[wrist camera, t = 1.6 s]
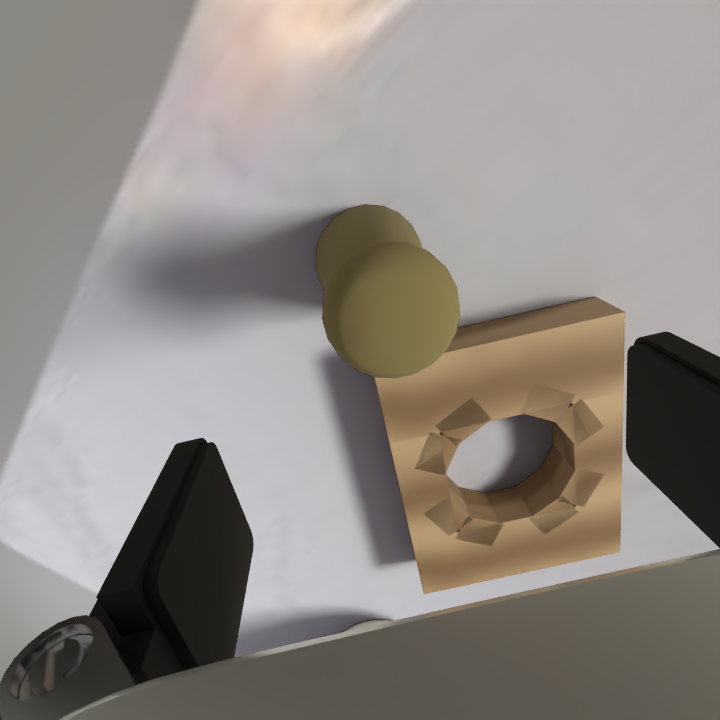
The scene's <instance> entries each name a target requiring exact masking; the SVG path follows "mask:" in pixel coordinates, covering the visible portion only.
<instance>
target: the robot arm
mask: <svg viewBox="0 0 720 720" xmlns="http://www.w3.org/2000/svg"><path fill="white" fill-rule="evenodd" d="M626 450H627V454H628V456H629V458H630V460H631V462H632V463H633V464H634V465H635V466H636V467H637V468H638V469H639V470H640V471H641V472H642V473H643V474H644V475H645V476H646V477H647V478H648V479H649V480H650V481H651V482H652V483H653V484H654V485H655V486H657V487H658V488H659V489H660V490H661V491H662V492H663V493H664V494H665V495H666V496H667V497H668V498H669V499H670V500H671V501H672V502H673V503H674V504H675V505H676V506H677V507H678V508H679V509H680V510H681V511H682V512H683V513H684V514H685V515H686V516H687V517H688V518H689V519H690V520H691V521H692V522H693V523H695V524H696V525H697V526H698V527H699V528H700V529H701V530H702V531H703V532H704V533H705V534H706V535H707V536H708V537H709V538H710V539H711V540H712V541H713V542H714V543H715V544H716V545H717V546H718V547H719V548H720V357H718V356H716V355H714V354H712V353H710V352H708V351H706V350H704V349H702V348H700V347H698V346H696V345H694V344H692V343H690V342H688V341H686V340H684V339H682V338H680V337H678V336H676V335H674V334H672V333H669V332H661V333H657V334H653V335H648V336H644V337H640V338H638V339H636V341H635V343H634V346H631V347H630V348H629V350H628V356H627V417H626ZM252 553H253V536H252V532H251V530H250V527H249V525H248V522H247V520H246V517H245V515H244V513H243V510H242V508H241V505H240V503H239V500H238V498H237V495H236V493H235V491H234V488H233V486H232V483H231V481H230V478H229V476H228V473H227V471H226V469H225V466H224V464H223V461H222V459H221V456H220V454H219V451H218V449H217V447H216V445H215V444H214V443H213V442H210V443H207V441H206V440H205V439H203V438H199V439H195V440H190V441H186V442H182V443H178V444H176V445H175V446H174V448H173V450H172V452H171V454H170V456H169V458H168V460H167V462H166V463H165V465H164V467H163V469H162V471H161V473H160V475H159V477H158V479H157V481H156V483H155V485H154V487H153V489H152V491H151V492H150V494H149V496H148V498H147V500H146V502H145V504H144V506H143V508H142V510H141V512H140V514H139V516H138V518H137V520H136V521H135V523H134V525H133V527H132V529H131V531H130V533H129V535H128V537H127V539H126V541H125V543H124V545H123V547H122V549H121V550H120V552H119V554H118V556H117V558H116V560H115V562H114V564H113V566H112V568H111V570H110V572H109V574H108V576H107V578H106V579H105V581H104V583H103V585H102V587H101V589H100V591H99V593H98V595H97V599H98V600H97V602H96V604H95V606H94V608H93V610H92V612H91V613H90V615H89V616H87V615H83V616H76V617H72V618H69V619H67V620H64V621H62V622H59V623H57V624H55V625H54V626H52V627H50V628H49V629H47V630H45V631H44V632H42V633H41V634H40V635H39V636H37V637H36V638H35V639H34V640H32V641H31V642H30V643H29V644H27V646H26V647H25V648H24V649H23V650H22V651H21V652H20V653H19V654H18V655H17V656H16V657H15V658H14V660H13V661H12V663H11V664H10V665H9V667H8V668H7V670H6V671H5V673H4V675H3V678H2V680H1V682H0V720H720V549H718V550H713V551H709V552H704V553H699V554H695V555H690V556H686V557H681V558H676V559H672V560H667V561H662V562H658V563H653V564H648V565H644V566H639V567H634V568H630V569H625V570H620V571H616V572H611V573H607V574H602V575H597V576H593V577H588V578H584V579H579V580H575V581H570V582H566V583H561V584H556V585H552V586H547V587H543V588H538V589H534V590H529V591H525V592H520V593H516V594H511V595H507V596H502V597H498V598H493V599H489V600H484V601H480V602H475V603H471V604H466V605H462V606H457V607H453V608H448V609H444V610H439V611H435V612H430V613H426V614H421V615H417V616H413V617H408V618H404V619H399V620H395V621H391V622H386V623H382V624H377V625H373V626H369V627H364V628H360V629H355V630H351V631H347V632H342V633H338V634H333V635H329V636H325V637H320V638H316V639H311V640H307V641H303V642H298V643H294V644H289V645H285V646H281V647H277V648H273V649H268V650H264V651H260V652H256V653H251V654H247V655H243V656H239V657H235V658H234V654H235V649H236V643H237V638H238V632H239V626H240V621H241V615H242V609H243V604H244V598H245V592H246V587H247V581H248V576H249V570H250V564H251V559H252Z"/></svg>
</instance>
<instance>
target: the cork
mask: <svg viewBox="0 0 720 720" xmlns="http://www.w3.org/2000/svg"><path fill="white" fill-rule="evenodd" d="M315 265H316V269H317V273H318V277H319V280H320V283H321V284H322V286H323V288H324V290H325V292H324V298H323V314H322V320H323V324H324V328H325V331H326V335H327V338H328V340H329V342H330V343H331V345H332V346H333V348H334V349H335V350H336V352H337V353H338V355H339V356H340V357H341V359H343V360H344V361H345V362H346V363H348V364H349V365H350V366H352V367H353V368H354V369H356V370H357V371H359V372H362V373H365V374H368V375H370V376H373V377H376V378H395V379H396V378H400V377H404V376H409V375H413V374H416V373H418V372H420V371H421V370H423V369H425V368H427V367H429V366H430V365H432V364H433V363H434V362H435V361H436V360H437V359H438V358H439V357H440V356H441V355H442V354H443V353H444V352H445V351H446V350H447V349H448V347H449V345H450V343H451V341H452V339H453V338H454V336H455V334H456V332H457V326H458V321H459V316H460V306H459V299H458V292H457V286H456V285H455V283H454V281H453V279H452V277H451V275H450V273H449V271H448V269H447V268H446V267H445V266H444V265H443V264H442V263H441V262H440V261H439V260H438V259H436V258H435V257H434V256H433V255H432V254H431V253H430V252H429V251H427V250H425V249H422V246H421V243H420V239H419V238H418V236H417V234H416V232H415V230H414V228H413V226H412V225H411V224H410V223H409V222H408V221H407V220H406V219H405V218H404V217H403V216H402V215H401V214H400V213H398V212H396V211H394V210H391V209H389V208H387V207H385V206H378V205H367V204H365V205H361V206H357V207H353V208H349V209H347V210H346V211H344V212H343V213H341V214H339V215H338V216H336V217H335V218H333V220H332V221H331V222H330V223H329V225H328V226H327V227H326V228H325V229H324V231H323V232H322V235H321V237H320V240H319V242H318V245H317V248H316V264H315Z"/></svg>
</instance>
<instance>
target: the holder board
mask: <svg viewBox="0 0 720 720" xmlns="http://www.w3.org/2000/svg"><path fill="white" fill-rule="evenodd" d="M624 334H625V312H624V311H622V310H620V309H618V308H616V307H614V306H612V305H610V304H609V303H607V302H605V301H603V300H601V299H599V298H597V297H592V298H588V299H583V300H579V301H574V302H570V303H566V304H561V305H557V306H552V307H548V308H544V309H539V310H535V311H531V312H526V313H522V314H517V315H513V316H509V317H504V318H500V319H495V320H491V321H487V322H482V323H478V324H473V325H469V326H465V327H460V328H457V332H456V334H455V336H454V338H453V339H452V341H451V343H450V345H449V347H448V349H447V350H446V351H445V352H444V353H443V354H442V355H441V356H440V357H439V358H438V359H437V360H436V361H435V362H434V363H433V364H432V365H430V366H429V367H427V368H425V369H423V370H421V371H420V372H418V373H416V374H413V375H409V376H404V377H400V378H396V379H395V378H376V377H375V382H376V386H377V390H378V395H379V399H380V404H381V408H382V412H383V417H384V421H385V426H386V430H387V434H388V439H389V443H390V448H391V452H392V456H393V461H394V465H395V469H396V474H397V478H398V483H399V487H400V491H401V496H402V500H403V505H404V509H405V513H406V518H407V522H408V527H409V531H410V535H411V540H412V544H413V548H414V553H415V557H416V562H417V566H418V570H419V575H420V579H421V584H422V588H423V592H424V594H427V593H432V592H437V591H441V590H446V589H450V588H455V587H460V586H464V585H469V584H474V583H478V582H483V581H488V580H492V579H497V578H502V577H506V576H511V575H516V574H520V573H525V572H530V571H534V570H539V569H544V568H548V567H553V566H557V565H562V564H567V563H571V562H576V561H581V560H585V559H590V558H595V557H599V556H604V555H609V554H613V553H618V552H620V533H621V483H622V433H623V383H624ZM521 414H526V415H530V416H534V417H538V418H542V419H545V420H549V421H552V423H553V442H554V445H553V446H552V448H551V450H550V452H549V454H548V455H547V457H546V459H545V461H544V463H543V464H542V466H541V468H540V469H539V470H538V471H537V472H535V473H534V474H532V475H531V476H529V477H528V478H527V479H525V480H524V481H522V482H521V483H520V484H518V485H517V486H515V487H511V488H507V489H502V490H498V491H493V492H489V493H483V492H478V491H474V490H469V489H465V488H460V487H458V486H457V485H456V484H455V483H454V482H453V481H452V480H451V479H449V478H448V477H447V475H446V471H447V469H448V467H449V464H450V462H451V460H452V458H453V456H454V454H455V452H456V450H457V447H458V445H459V443H461V442H462V441H463V440H465V439H466V438H467V437H469V436H470V435H471V434H472V433H474V432H475V431H476V430H478V429H479V428H480V427H482V426H483V425H484V424H486V423H487V422H489V421H494V420H498V419H503V418H507V417H512V416H516V415H521Z"/></svg>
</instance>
